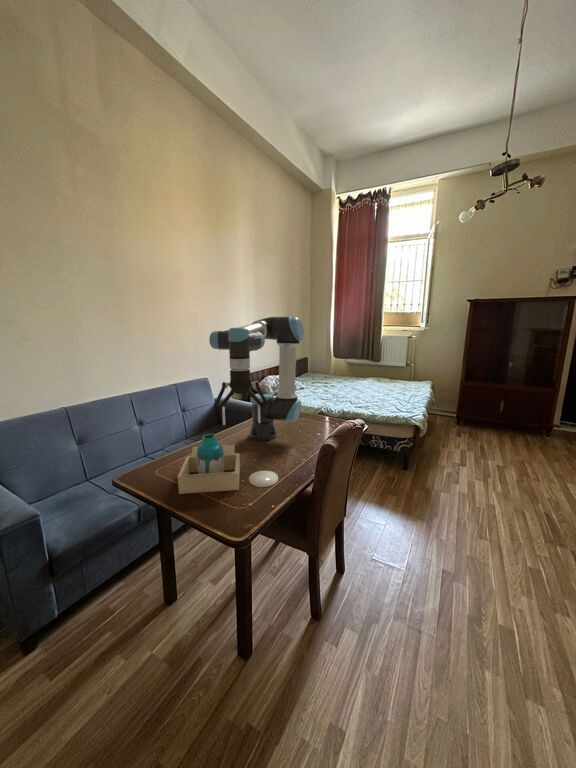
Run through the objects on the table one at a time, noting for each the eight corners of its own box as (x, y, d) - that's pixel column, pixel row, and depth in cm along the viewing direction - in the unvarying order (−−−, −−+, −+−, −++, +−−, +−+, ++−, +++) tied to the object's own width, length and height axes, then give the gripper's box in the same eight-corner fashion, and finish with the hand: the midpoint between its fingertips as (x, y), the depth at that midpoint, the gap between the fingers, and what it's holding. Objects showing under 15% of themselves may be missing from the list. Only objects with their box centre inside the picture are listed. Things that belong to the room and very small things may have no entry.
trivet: (248, 472, 133) (248, 471, 133) (276, 471, 134) (276, 469, 134) (248, 488, 121) (248, 486, 121) (279, 486, 123) (279, 484, 123)
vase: (229, 475, 130) (227, 432, 126) (216, 489, 121) (213, 442, 116) (207, 471, 134) (205, 429, 130) (192, 484, 124) (189, 439, 120)
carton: (189, 467, 138) (187, 446, 136) (240, 464, 141) (239, 444, 139) (176, 499, 114) (174, 475, 112) (238, 495, 116) (237, 471, 114)
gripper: (204, 372, 112) (208, 428, 116) (274, 370, 115) (274, 424, 120) (206, 368, 119) (209, 421, 123) (271, 366, 123) (272, 418, 127)
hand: (241, 423), depth 122 cm, fingers open, 13 cm apart
